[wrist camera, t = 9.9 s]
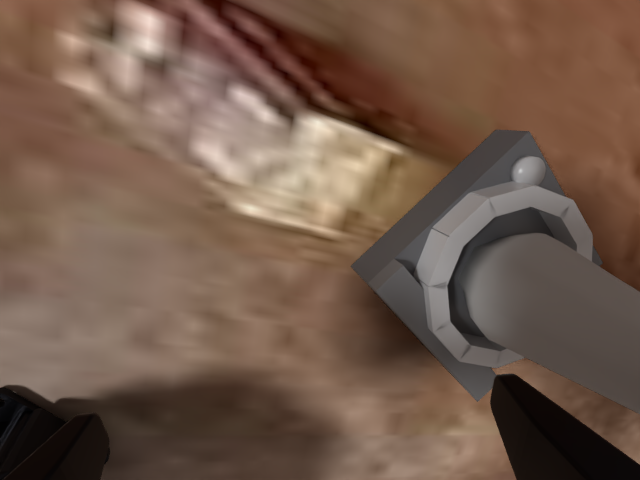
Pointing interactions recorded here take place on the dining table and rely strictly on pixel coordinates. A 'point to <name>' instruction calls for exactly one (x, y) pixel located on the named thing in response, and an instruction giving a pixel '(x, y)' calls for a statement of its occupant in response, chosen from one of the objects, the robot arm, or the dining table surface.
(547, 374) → the dining table surface
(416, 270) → the ringed square socket
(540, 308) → the salt shaker
